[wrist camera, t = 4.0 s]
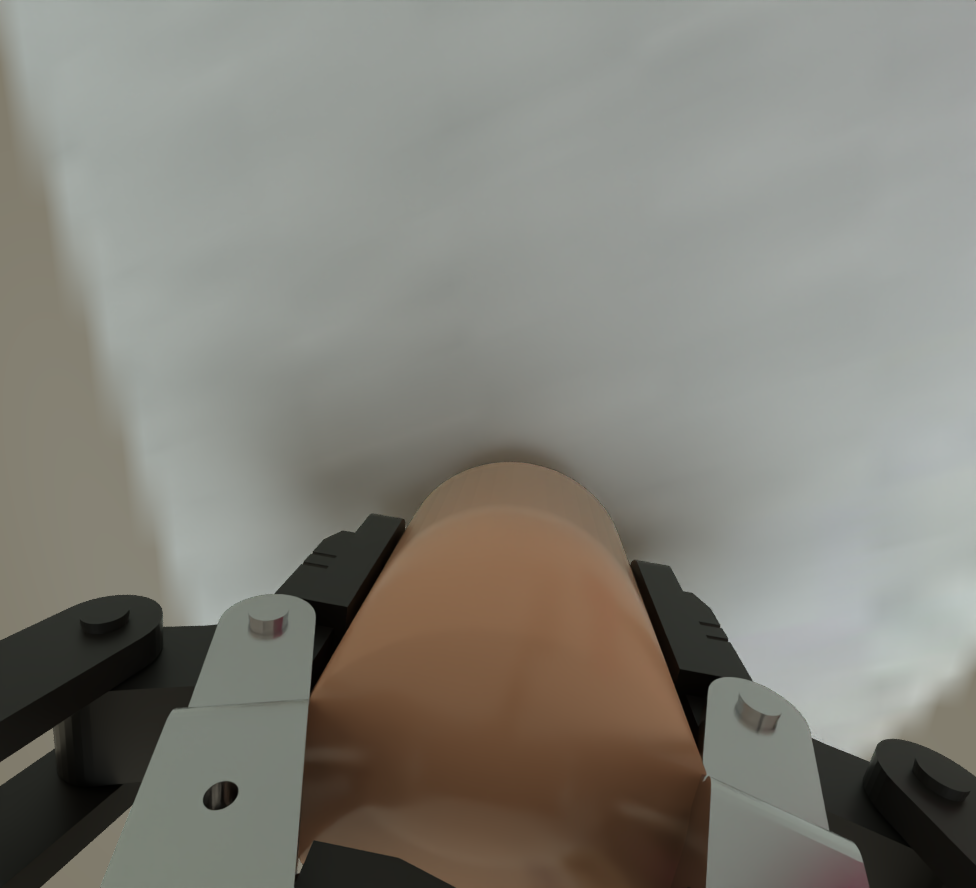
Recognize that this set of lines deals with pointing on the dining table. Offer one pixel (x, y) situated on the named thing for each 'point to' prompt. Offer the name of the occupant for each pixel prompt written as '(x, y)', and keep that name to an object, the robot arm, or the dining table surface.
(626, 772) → the rounded stamp handle
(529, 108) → the dining table surface
